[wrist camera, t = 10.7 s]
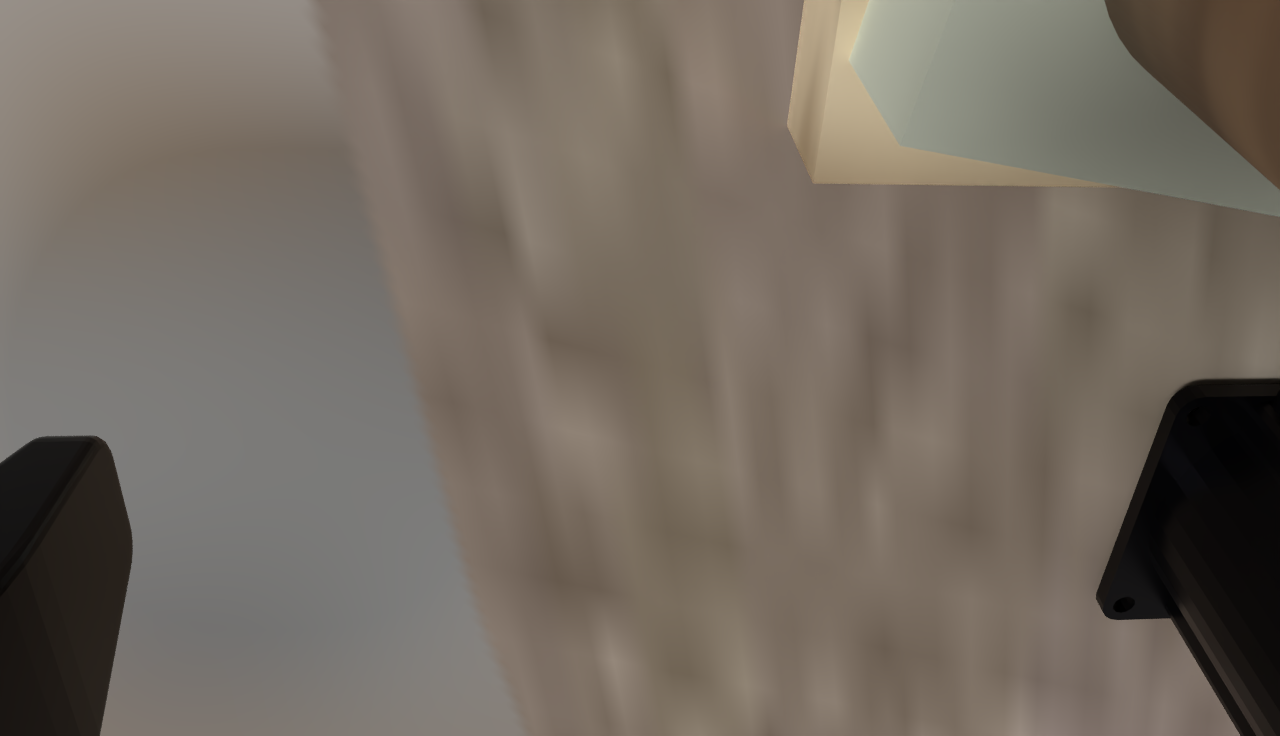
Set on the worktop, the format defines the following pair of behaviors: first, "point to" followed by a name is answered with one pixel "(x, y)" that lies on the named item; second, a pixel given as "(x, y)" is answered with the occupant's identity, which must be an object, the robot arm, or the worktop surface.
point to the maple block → (869, 118)
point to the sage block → (1043, 98)
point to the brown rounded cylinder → (1214, 65)
